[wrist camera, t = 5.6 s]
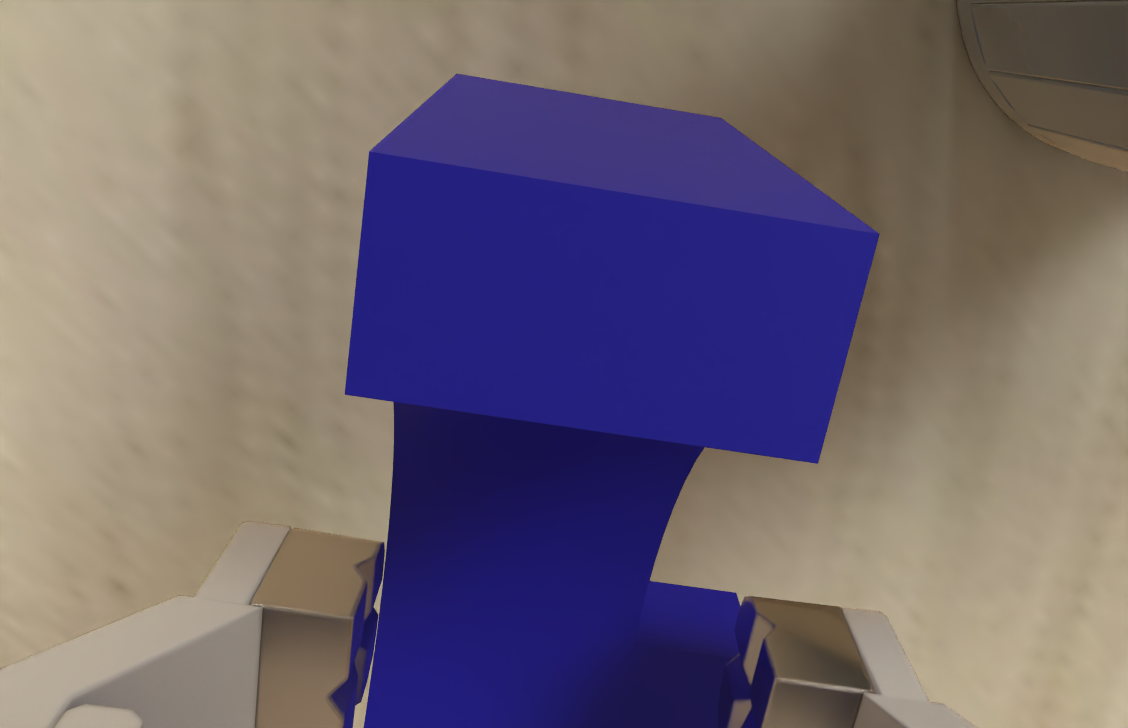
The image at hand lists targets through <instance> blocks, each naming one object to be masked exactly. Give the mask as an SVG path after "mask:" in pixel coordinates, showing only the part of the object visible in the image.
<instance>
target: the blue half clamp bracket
mask: <svg viewBox="0 0 1128 728" xmlns="http://www.w3.org/2000/svg"><path fill="white" fill-rule="evenodd" d="M878 238H879V233H878V232H876V231H875V230H873V229H872V228H871V227H869V226H868V225H867V224H865V223H864V222H863V221H861V220H860V219H858V218H857V217H856V216H854V215H853V214H852V213H850V212H849V211H847V210H846V209H845V208H843V207H842V206H841V205H839V204H838V203H837V202H835V201H834V200H832V199H831V198H830V197H828V196H827V195H826V194H824V193H823V192H822V191H820V190H819V189H817V188H816V187H815V186H813V185H812V184H811V183H809V182H808V181H806V180H805V179H804V178H802V177H801V176H800V175H798V174H797V173H796V172H794V171H793V170H791V169H790V168H789V167H787V166H786V165H785V164H783V163H782V162H781V161H779V160H778V159H776V158H775V157H774V156H772V155H771V154H770V153H768V152H767V151H765V150H764V149H763V148H761V147H760V146H759V145H757V144H756V143H755V142H753V141H752V140H750V139H749V138H748V137H746V136H745V135H744V134H742V133H741V132H740V131H738V130H737V129H735V128H734V127H733V126H731V125H730V124H729V123H727V122H726V121H724V120H723V119H722V118H718V117H712V116H706V115H700V114H694V113H688V112H682V111H676V110H670V109H664V108H658V107H652V106H646V105H640V104H634V103H628V102H622V101H616V100H610V99H605V98H599V97H593V96H587V95H581V94H575V93H569V92H563V91H557V90H551V89H545V88H539V87H533V86H527V85H521V84H515V83H509V82H503V81H497V80H491V79H485V78H479V77H473V76H467V75H461V74H456V75H455V76H454V77H452V78H451V79H450V80H449V81H448V82H447V83H446V84H445V85H444V86H442V87H441V88H440V89H439V90H438V91H437V92H436V93H435V94H433V95H432V96H431V97H430V98H429V99H428V100H427V101H426V102H424V103H423V104H422V105H421V106H420V107H419V108H418V109H417V110H415V111H414V112H413V113H412V114H411V115H410V116H409V117H408V118H406V119H405V120H404V121H403V122H402V123H401V124H400V125H399V126H397V127H396V128H395V129H394V130H393V131H392V132H391V133H390V134H388V135H387V136H386V137H385V138H384V139H383V140H382V141H381V142H379V143H378V144H377V145H376V146H375V147H374V148H373V149H372V150H370V151H369V160H368V170H367V180H366V190H365V200H364V210H363V219H362V229H361V239H360V249H359V259H358V269H357V279H356V289H355V299H354V308H353V318H352V328H351V338H350V348H349V358H348V368H347V378H346V388H345V395H351V396H358V397H365V398H372V399H379V400H386V401H393V402H394V458H393V478H392V494H391V506H390V519H389V530H388V541H387V551H386V561H385V570H384V579H383V588H382V597H381V605H380V613H379V621H378V629H377V637H376V645H375V652H374V660H373V667H372V674H371V681H370V689H369V696H368V703H367V710H366V716H365V723H364V728H718V717H717V716H718V706H719V695H720V688H721V684H722V679H723V674H724V670H725V665H726V664H727V663H728V662H729V661H730V660H731V659H733V658H734V657H735V656H736V655H737V654H738V653H739V649H738V645H737V640H736V636H735V631H734V628H735V624H736V620H737V616H738V613H739V609H740V604H739V601H738V597H737V594H736V593H733V592H726V591H719V590H711V589H704V588H697V587H689V586H682V585H675V584H667V583H660V582H653V581H649V580H650V577H651V573H652V570H653V566H654V562H655V559H656V556H657V553H658V550H659V547H660V544H661V541H662V537H663V534H664V532H665V529H666V526H667V523H668V521H669V518H670V515H671V513H672V510H673V507H674V505H675V503H676V500H677V498H678V496H679V493H680V491H681V489H682V487H683V484H684V482H685V480H686V478H687V476H688V474H689V472H690V471H691V469H692V467H693V465H694V463H695V461H696V459H697V458H698V456H699V455H700V453H701V452H702V450H703V449H704V447H708V448H715V449H721V450H728V451H735V452H742V453H749V454H756V455H763V456H769V457H776V458H783V459H790V460H797V461H804V462H811V463H817V464H818V461H819V458H820V454H821V450H822V446H823V443H824V439H825V435H826V432H827V428H828V424H829V420H830V417H831V413H832V409H833V406H834V402H835V398H836V394H837V391H838V387H839V383H840V379H841V376H842V372H843V368H844V365H845V361H846V357H847V353H848V350H849V346H850V342H851V338H852V335H853V331H854V327H855V324H856V320H857V316H858V312H859V309H860V305H861V301H862V297H863V294H864V290H865V286H866V283H867V279H868V275H869V271H870V268H871V264H872V260H873V257H874V253H875V249H876V245H877V242H878Z"/></svg>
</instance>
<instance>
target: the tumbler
mask: <svg viewBox="0 0 1128 728" xmlns="http://www.w3.org/2000/svg"><path fill="white" fill-rule="evenodd" d="M957 6H958V16H959V21H960V27H961V32H962V37H963V40H964V43H965V47H966V50H967V53H968V56H969V59H970V61H971V63H972V65H973V67H974V69H975V71H976V73H977V76H978V78H979V80H980V82H981V83H982V85H983V86H984V88H985V89H986V90H987V92H988V93H989V95H990V96H991V98H992V99H993V101H994V102H995V103H996V104H997V105H998V106H999V107H1000V108H1001V109H1002V110H1003V112H1004V113H1005V114H1006V115H1007V116H1008V117H1009V118H1010V119H1011V120H1013V121H1014V122H1015V123H1016V124H1018V125H1019V126H1020V127H1021V128H1023V129H1024V130H1025V131H1026V132H1028V133H1029V134H1031V135H1033V136H1035V137H1036V138H1038V139H1040V140H1042V141H1043V142H1045V143H1047V144H1049V145H1051V146H1054V147H1056V148H1059V149H1061V150H1064V151H1067V152H1069V153H1072V154H1074V155H1075V156H1077V157H1080V158H1083V159H1085V160H1088V161H1092V162H1095V163H1098V164H1102V165H1105V166H1109V167H1112V168H1116V169H1119V170H1122V171H1126V172H1128V0H957Z"/></svg>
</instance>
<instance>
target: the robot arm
mask: <svg viewBox="0 0 1128 728" xmlns="http://www.w3.org/2000/svg"><path fill="white" fill-rule="evenodd" d="M384 553H385V550H384V542H378V541H372V540H366V539H360V538H354V537H348V536H342V535H336V534H330V533H324V532H317V531H311V530H305V529H299V528H293V529H292V528H291V527H290V526H284V525H276V524H268V523H260V522H252V521H247V522H243V523H242V524H241V525H240V526H239V527H238V529H237V530H236V532H235V533H234V535H233V536H232V538H231V539H230V541H229V543H228V544H227V546H226V547H225V549H224V550H223V552H222V553H221V555H220V556H219V558H218V559H217V561H216V562H215V564H214V565H213V567H212V569H211V570H210V572H209V573H208V575H207V576H206V578H205V579H204V581H203V582H202V584H201V585H200V587H199V588H198V590H197V592H196V593H195V595H194V596H193V597H188V596H180V595H179V596H176V597H174V598H172V599H169V600H167V601H164V602H162V603H159V604H157V605H154V606H152V607H150V608H147V609H145V610H142V611H140V612H137V613H135V614H132V615H130V616H128V617H125V618H123V619H120V620H118V621H115V622H113V623H110V624H108V625H106V626H103V627H101V628H98V629H96V630H93V631H91V632H88V633H86V634H83V635H81V636H79V637H76V638H74V639H71V640H69V641H66V642H64V643H61V644H59V645H57V646H54V647H52V648H49V649H47V650H44V651H42V652H39V653H37V654H35V655H32V656H30V657H27V658H25V659H22V660H20V661H17V662H15V663H13V664H10V665H8V666H5V667H3V668H0V728H352V727H353V718H354V710H355V705H357V704H358V703H360V702H361V700H362V697H363V694H364V690H365V687H366V683H367V679H368V674H369V670H370V665H371V661H372V656H373V650H374V644H375V637H376V630H377V621H378V614H377V612H376V611H375V609H374V607H373V606H374V603H375V600H376V597H377V594H378V590H379V587H380V584H381V581H382V576H383V565H384ZM734 631H735V636H736V640H737V645H738V649H739V653H738V654H737V655H736V656H735V657H734V658H733V659H731V660H730V661H729V662H728V663H727V664H726V665H725V670H724V674H723V679H722V684H721V688H720V695H719V706H718V716H717V717H718V728H977V727H975V726H974V725H973V724H971V723H970V722H968V721H967V720H966V719H964V718H963V717H961V716H960V715H959V714H957V713H956V712H954V711H953V710H952V709H950V708H949V707H947V706H946V705H945V704H941V703H935V702H930V701H929V699H928V697H927V695H926V693H925V691H924V689H923V687H922V685H921V683H920V681H919V679H918V677H917V675H916V673H915V671H914V669H913V667H912V665H911V663H910V661H909V659H908V657H907V655H906V653H905V651H904V649H903V648H902V646H901V644H900V642H899V640H898V638H897V636H896V634H895V632H894V630H893V628H892V626H891V624H890V622H889V620H888V618H887V616H886V615H884V614H883V613H881V612H880V611H872V610H862V609H852V608H842V607H837V606H829V605H820V604H812V603H804V602H795V601H787V600H778V599H770V598H762V597H753V596H748V597H745V598H744V600H743V602H742V604H741V607H740V609H739V613H738V616H737V620H736V624H735V628H734Z"/></svg>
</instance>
